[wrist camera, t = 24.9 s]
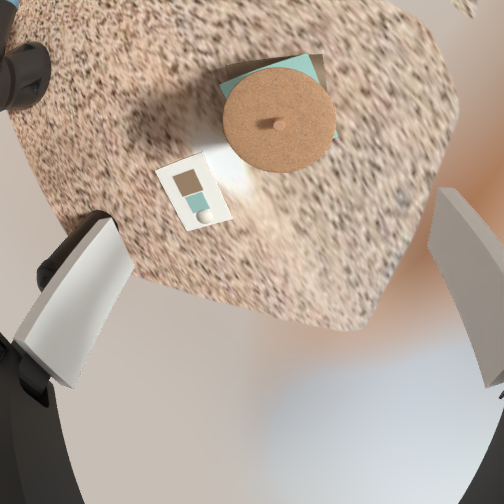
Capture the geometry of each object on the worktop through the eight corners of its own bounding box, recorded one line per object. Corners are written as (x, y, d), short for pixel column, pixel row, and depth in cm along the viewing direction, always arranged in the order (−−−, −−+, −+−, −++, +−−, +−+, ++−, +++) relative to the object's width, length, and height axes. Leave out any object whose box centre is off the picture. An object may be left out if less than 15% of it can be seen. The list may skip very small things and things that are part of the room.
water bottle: (83, 232, 60) (30, 301, 42) (88, 199, 54) (24, 269, 36) (117, 250, 63) (71, 326, 45) (126, 219, 57) (70, 297, 39)
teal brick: (228, 80, 34) (218, 84, 29) (304, 54, 31) (307, 53, 26) (258, 148, 40) (254, 162, 35) (330, 125, 37) (337, 136, 32)
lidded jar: (290, 165, 35) (291, 200, 28) (218, 119, 32) (197, 140, 25) (343, 102, 29) (363, 118, 22) (267, 49, 26) (261, 44, 19)
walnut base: (232, 64, 37) (225, 65, 33) (318, 54, 34) (322, 54, 30) (247, 140, 44) (242, 149, 40) (327, 132, 42) (331, 141, 38)
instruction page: (155, 170, 49) (154, 171, 49) (202, 151, 46) (202, 152, 46) (187, 230, 57) (186, 231, 57) (232, 218, 54) (232, 219, 54)
